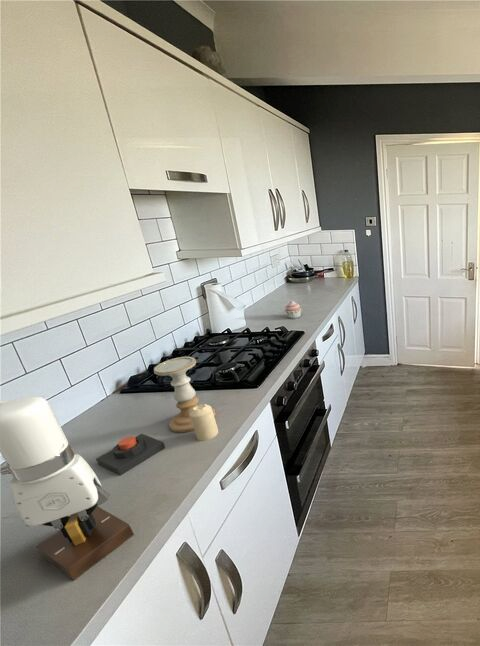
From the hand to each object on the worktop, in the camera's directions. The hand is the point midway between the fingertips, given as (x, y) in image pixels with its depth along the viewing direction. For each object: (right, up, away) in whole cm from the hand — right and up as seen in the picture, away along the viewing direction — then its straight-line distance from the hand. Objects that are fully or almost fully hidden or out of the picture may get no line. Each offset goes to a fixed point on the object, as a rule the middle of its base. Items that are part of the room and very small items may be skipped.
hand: (82, 533), depth 70 cm
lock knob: (0, 0, 0) cm, 0 cm away
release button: (-12, +9, +24) cm, 28 cm away
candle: (+4, +9, +33) cm, 35 cm away
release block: (-12, +6, +25) cm, 29 cm away
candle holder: (-5, +11, +40) cm, 42 cm away
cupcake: (-8, +46, +130) cm, 138 cm away
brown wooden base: (0, -3, +1) cm, 3 cm away
